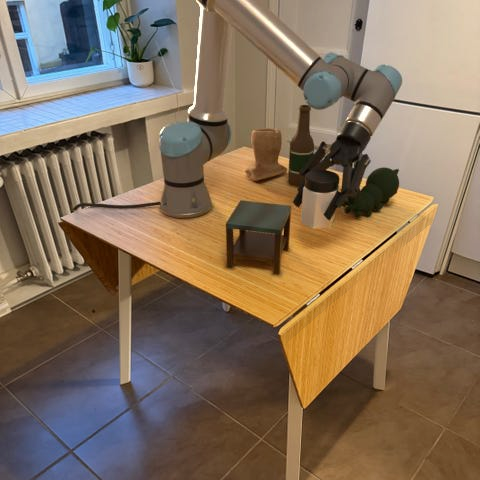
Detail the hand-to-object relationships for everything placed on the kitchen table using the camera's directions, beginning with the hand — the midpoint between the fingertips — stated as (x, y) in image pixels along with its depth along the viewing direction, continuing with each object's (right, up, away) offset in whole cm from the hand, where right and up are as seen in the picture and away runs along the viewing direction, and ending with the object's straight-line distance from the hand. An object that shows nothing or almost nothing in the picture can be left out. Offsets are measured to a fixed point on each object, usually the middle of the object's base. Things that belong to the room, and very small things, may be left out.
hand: (310, 211), depth 115 cm
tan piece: (-9, +23, +47) cm, 53 cm away
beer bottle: (+2, +19, +41) cm, 45 cm away
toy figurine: (+21, +6, +25) cm, 33 cm away
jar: (+2, -2, +4) cm, 5 cm away
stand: (-13, -11, +4) cm, 17 cm away
